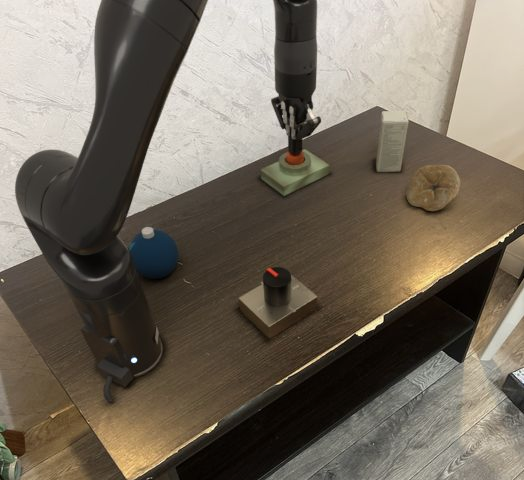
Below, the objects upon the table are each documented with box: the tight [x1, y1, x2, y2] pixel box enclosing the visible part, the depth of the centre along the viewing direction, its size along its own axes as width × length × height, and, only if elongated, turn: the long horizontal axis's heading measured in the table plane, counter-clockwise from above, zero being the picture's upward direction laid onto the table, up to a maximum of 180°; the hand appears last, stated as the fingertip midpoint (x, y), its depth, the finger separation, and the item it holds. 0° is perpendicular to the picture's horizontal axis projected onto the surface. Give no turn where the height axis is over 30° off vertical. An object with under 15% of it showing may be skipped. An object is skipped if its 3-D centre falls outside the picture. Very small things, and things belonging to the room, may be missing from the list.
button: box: [285, 150, 304, 165], centre depth 103 cm, size 4×4×2 cm
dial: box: [262, 266, 292, 307], centre depth 79 cm, size 4×4×5 cm
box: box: [375, 110, 410, 173], centre depth 103 cm, size 5×4×11 cm
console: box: [238, 274, 318, 340], centre depth 82 cm, size 10×9×3 cm
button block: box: [260, 148, 330, 197], centre depth 105 cm, size 12×8×4 cm, turn 126°
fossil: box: [405, 164, 462, 212], centre depth 97 cm, size 9×4×10 cm
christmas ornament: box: [128, 226, 179, 279], centre depth 86 cm, size 8×8×10 cm
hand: (295, 153), depth 102 cm, fingers closed
